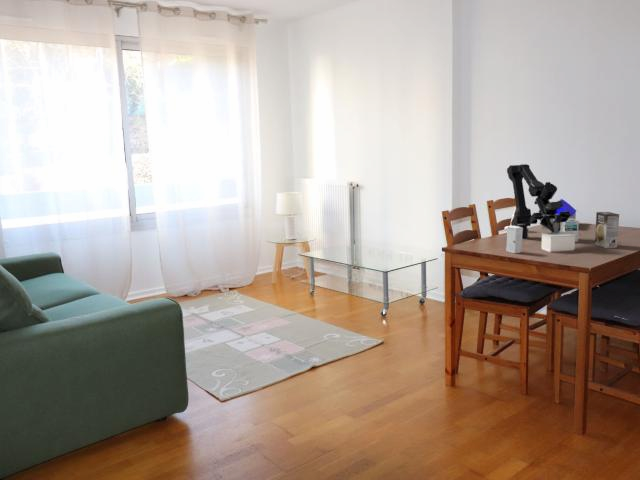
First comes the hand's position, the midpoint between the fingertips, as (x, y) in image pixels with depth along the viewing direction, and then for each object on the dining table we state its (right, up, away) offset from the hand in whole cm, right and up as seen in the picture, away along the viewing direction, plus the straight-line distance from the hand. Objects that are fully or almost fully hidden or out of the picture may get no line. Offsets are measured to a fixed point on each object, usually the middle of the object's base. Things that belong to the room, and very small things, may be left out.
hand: (556, 231), depth 270 cm
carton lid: (0, -2, -1) cm, 2 cm away
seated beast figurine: (-1, +1, +56) cm, 56 cm away
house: (+30, +4, +67) cm, 74 cm away
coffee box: (+26, -7, +5) cm, 27 cm away
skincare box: (-21, -10, -2) cm, 23 cm away
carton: (+1, -9, 0) cm, 9 cm away
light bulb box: (+16, -4, +23) cm, 28 cm away
